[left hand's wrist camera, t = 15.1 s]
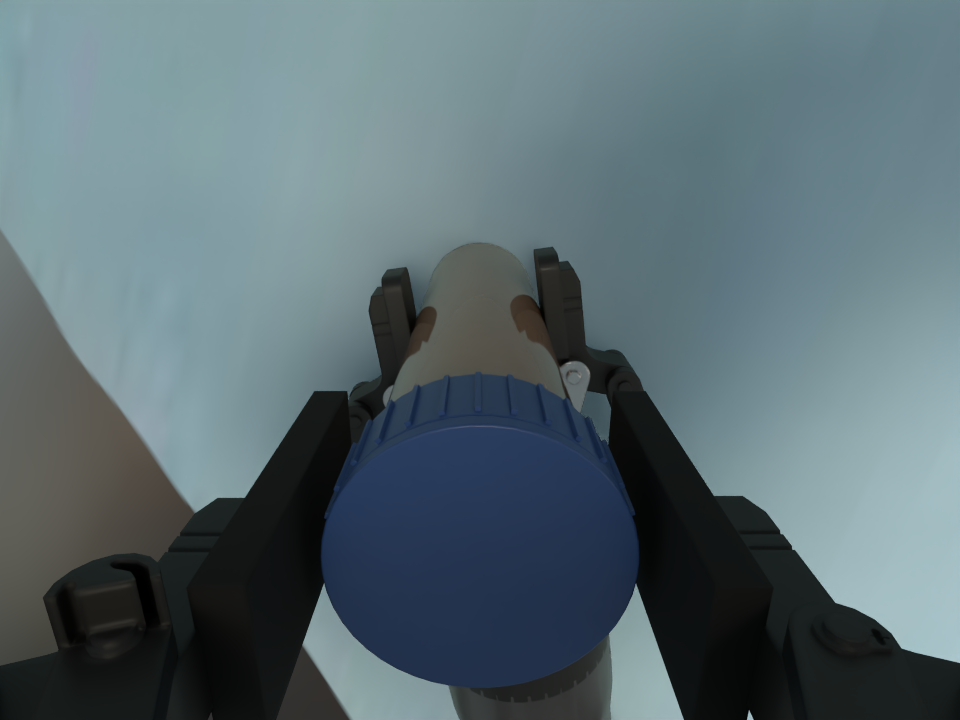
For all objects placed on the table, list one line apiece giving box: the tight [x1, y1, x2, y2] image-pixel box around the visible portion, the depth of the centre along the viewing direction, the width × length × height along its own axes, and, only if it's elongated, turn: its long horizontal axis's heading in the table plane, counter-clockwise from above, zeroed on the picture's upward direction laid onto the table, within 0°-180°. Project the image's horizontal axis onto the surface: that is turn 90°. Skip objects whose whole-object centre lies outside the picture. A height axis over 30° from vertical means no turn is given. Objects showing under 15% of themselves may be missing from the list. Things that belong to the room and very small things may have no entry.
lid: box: [321, 372, 640, 688], centre depth 11 cm, size 6×6×2 cm
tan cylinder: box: [388, 243, 574, 407], centre depth 20 cm, size 5×5×19 cm
